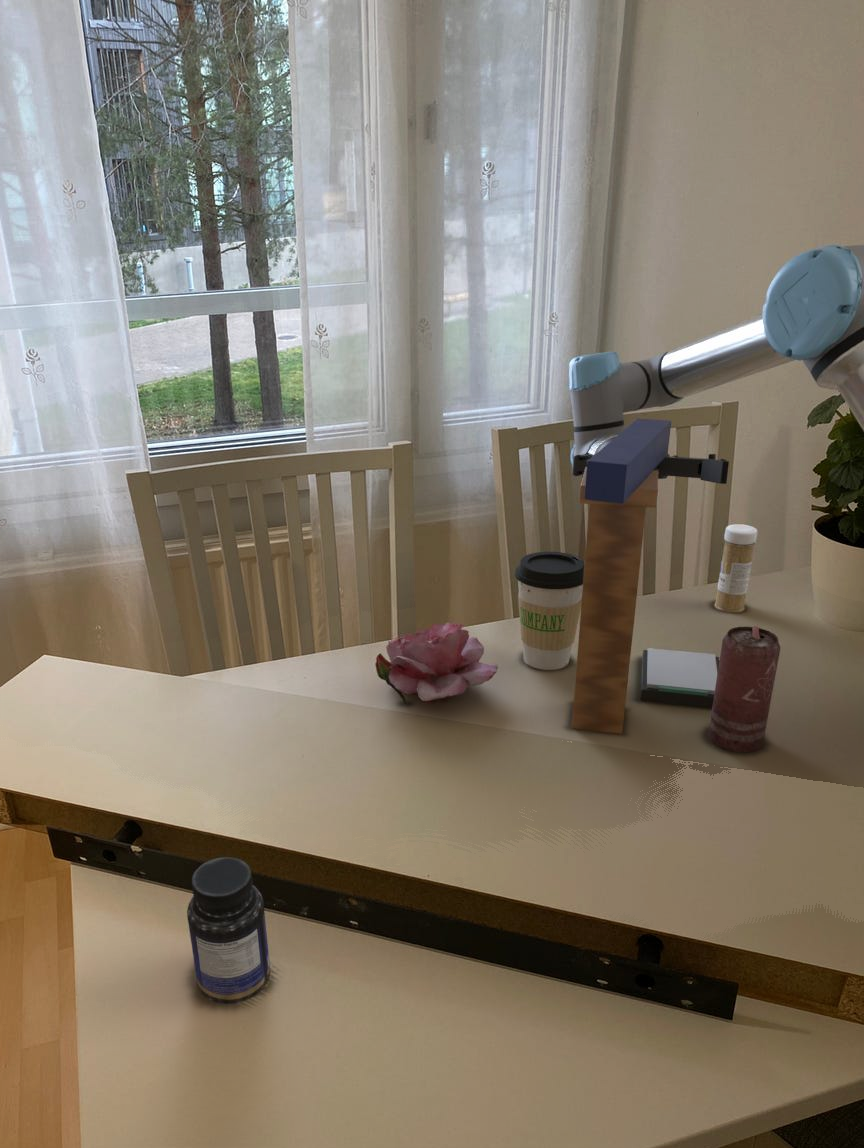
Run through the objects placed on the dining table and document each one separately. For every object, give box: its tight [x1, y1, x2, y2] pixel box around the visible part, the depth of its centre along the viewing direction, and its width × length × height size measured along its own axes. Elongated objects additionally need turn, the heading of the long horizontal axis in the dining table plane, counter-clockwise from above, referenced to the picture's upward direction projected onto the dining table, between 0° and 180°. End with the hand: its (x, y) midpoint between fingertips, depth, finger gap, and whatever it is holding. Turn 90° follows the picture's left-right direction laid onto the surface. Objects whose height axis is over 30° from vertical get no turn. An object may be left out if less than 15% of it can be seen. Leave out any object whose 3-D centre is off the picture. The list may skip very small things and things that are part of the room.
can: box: [708, 625, 781, 753], centre depth 105 cm, size 6×6×14 cm
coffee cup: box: [514, 551, 585, 671], centre depth 125 cm, size 10×10×15 cm
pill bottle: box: [186, 856, 271, 1005], centre depth 74 cm, size 6×6×11 cm
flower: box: [375, 621, 499, 705], centre depth 119 cm, size 15×15×10 cm
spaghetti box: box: [584, 418, 672, 504], centre depth 100 cm, size 4×22×4 cm, turn 153°
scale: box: [640, 647, 720, 709], centre depth 121 cm, size 10×12×3 cm
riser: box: [571, 467, 659, 735], centre depth 107 cm, size 8×8×31 cm
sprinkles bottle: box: [714, 523, 758, 613], centre depth 141 cm, size 5×5×14 cm
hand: (670, 471), depth 111 cm, fingers open, 13 cm apart
